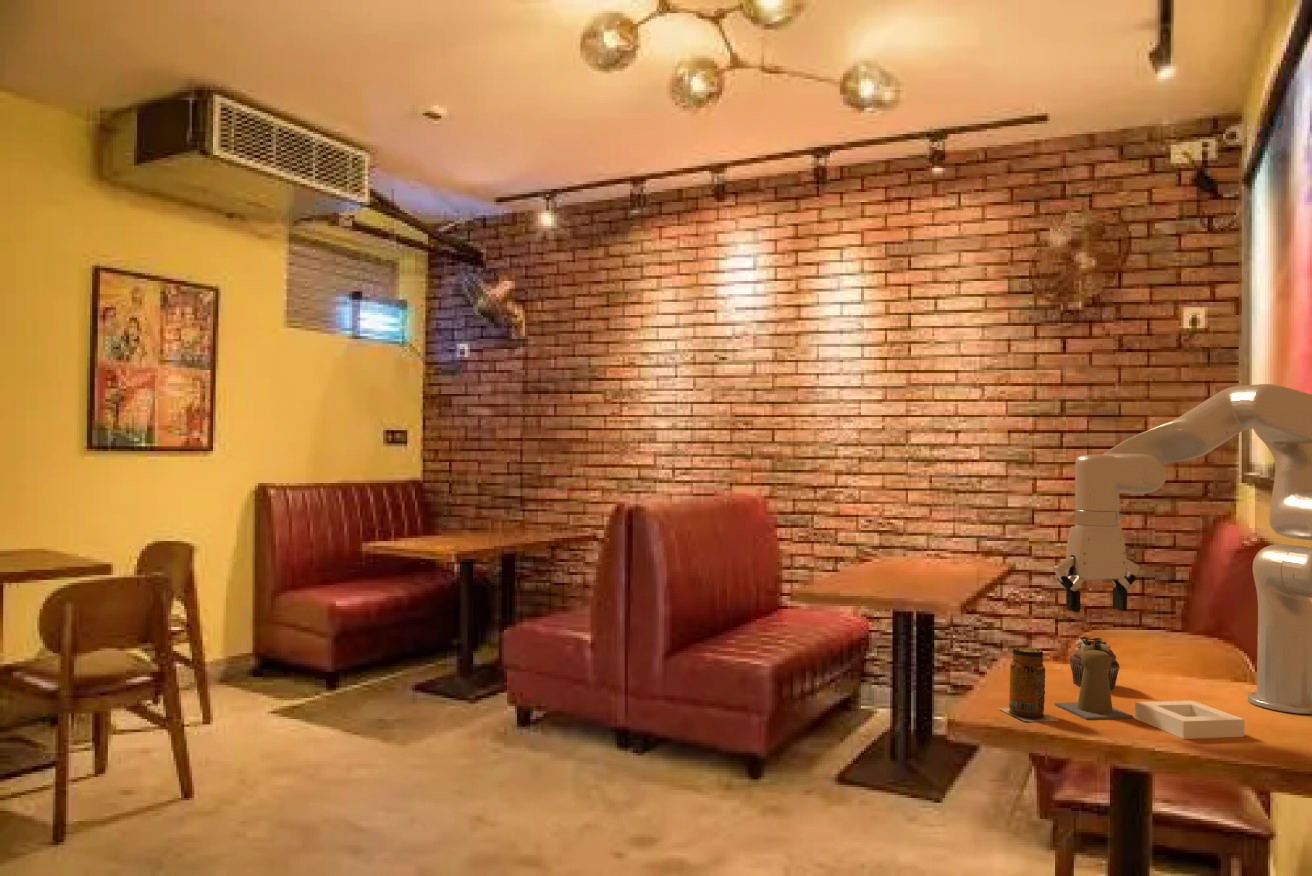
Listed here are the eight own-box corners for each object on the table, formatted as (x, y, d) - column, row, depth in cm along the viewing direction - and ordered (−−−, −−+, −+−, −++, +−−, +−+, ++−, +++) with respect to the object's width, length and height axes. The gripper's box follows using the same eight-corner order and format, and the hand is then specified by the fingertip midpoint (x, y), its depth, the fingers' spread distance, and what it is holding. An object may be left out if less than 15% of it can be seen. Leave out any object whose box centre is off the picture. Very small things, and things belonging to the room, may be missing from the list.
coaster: (1099, 703, 179) (1099, 701, 179) (1133, 718, 170) (1133, 715, 170) (1054, 704, 177) (1054, 702, 177) (1086, 719, 168) (1086, 717, 168)
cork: (1116, 715, 170) (1117, 655, 170) (1081, 712, 171) (1082, 653, 171) (1108, 706, 176) (1109, 648, 176) (1074, 703, 177) (1075, 646, 177)
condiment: (1032, 708, 175) (1034, 645, 175) (1060, 721, 167) (1061, 655, 167) (997, 709, 174) (999, 645, 174) (1023, 722, 165) (1025, 655, 165)
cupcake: (1128, 692, 189) (1129, 643, 189) (1080, 691, 189) (1081, 642, 189) (1106, 680, 198) (1107, 634, 198) (1061, 679, 198) (1061, 632, 199)
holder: (1192, 716, 172) (1192, 700, 172) (1244, 736, 160) (1244, 719, 160) (1135, 718, 169) (1135, 702, 170) (1183, 738, 158) (1183, 721, 158)
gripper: (1124, 518, 179) (1124, 605, 179) (1043, 518, 176) (1043, 608, 176) (1151, 521, 172) (1151, 612, 172) (1067, 521, 169) (1067, 615, 169)
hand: (1096, 610), depth 174 cm, fingers open, 9 cm apart
